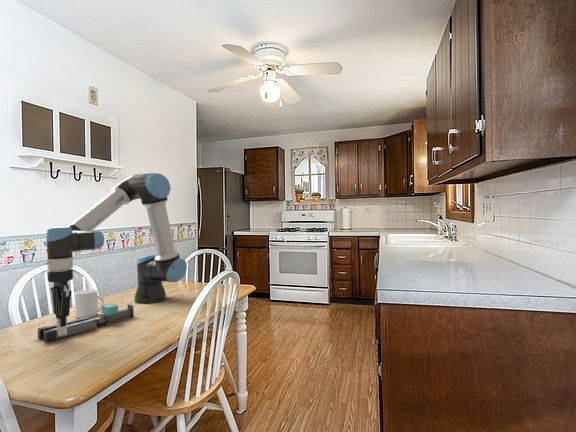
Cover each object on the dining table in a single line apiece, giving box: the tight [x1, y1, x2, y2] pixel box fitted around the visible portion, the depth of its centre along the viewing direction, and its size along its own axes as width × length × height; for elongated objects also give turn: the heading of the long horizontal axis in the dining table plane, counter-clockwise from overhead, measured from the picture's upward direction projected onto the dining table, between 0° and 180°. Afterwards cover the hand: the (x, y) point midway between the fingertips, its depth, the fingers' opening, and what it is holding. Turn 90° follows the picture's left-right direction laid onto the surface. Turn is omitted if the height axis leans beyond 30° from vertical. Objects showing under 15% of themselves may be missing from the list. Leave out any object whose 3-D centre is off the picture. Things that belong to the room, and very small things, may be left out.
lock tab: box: [101, 302, 119, 315], centre depth 141 cm, size 4×6×3 cm, turn 51°
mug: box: [74, 288, 105, 319], centre depth 151 cm, size 9×12×11 cm
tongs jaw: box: [43, 317, 98, 343], centre depth 127 cm, size 17×3×4 cm, turn 144°
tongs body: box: [37, 303, 135, 340], centre depth 136 cm, size 33×6×5 cm, turn 141°
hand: (62, 334), depth 123 cm, fingers closed
